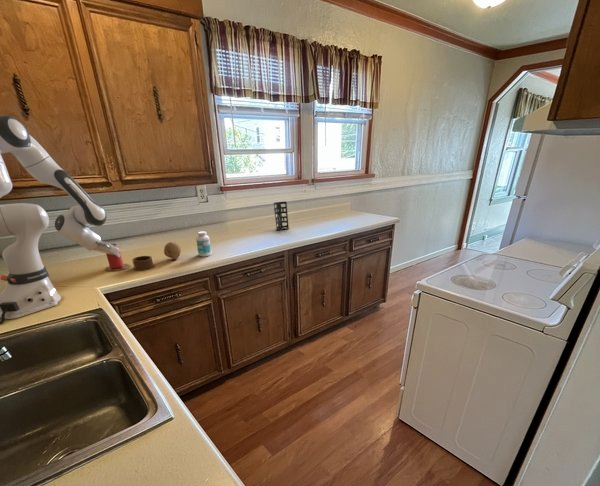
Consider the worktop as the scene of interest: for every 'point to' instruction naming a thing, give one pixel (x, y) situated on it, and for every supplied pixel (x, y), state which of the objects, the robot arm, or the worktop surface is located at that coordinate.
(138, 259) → the cup
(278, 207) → the holder
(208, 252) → the pill bottle
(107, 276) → the worktop surface
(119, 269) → the coaster
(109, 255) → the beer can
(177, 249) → the natural sponge
